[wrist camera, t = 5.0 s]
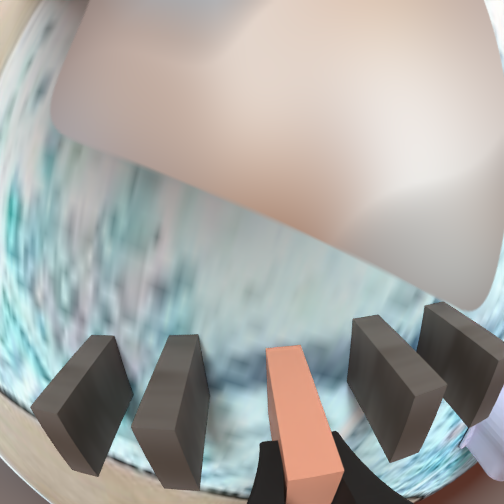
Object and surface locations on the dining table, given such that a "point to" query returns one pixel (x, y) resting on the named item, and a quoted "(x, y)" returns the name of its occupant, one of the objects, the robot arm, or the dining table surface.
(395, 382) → the tile
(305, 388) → the tile
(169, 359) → the tile
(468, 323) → the tile
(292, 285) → the dining table surface
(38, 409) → the tile
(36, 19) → the dining table surface
